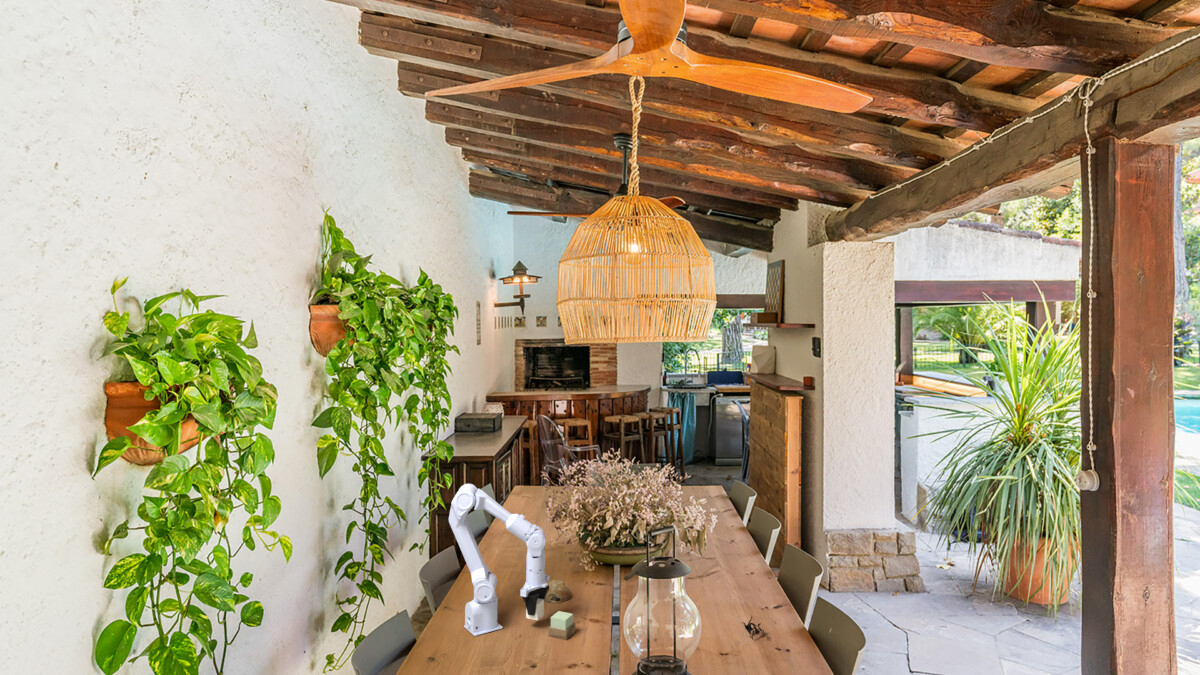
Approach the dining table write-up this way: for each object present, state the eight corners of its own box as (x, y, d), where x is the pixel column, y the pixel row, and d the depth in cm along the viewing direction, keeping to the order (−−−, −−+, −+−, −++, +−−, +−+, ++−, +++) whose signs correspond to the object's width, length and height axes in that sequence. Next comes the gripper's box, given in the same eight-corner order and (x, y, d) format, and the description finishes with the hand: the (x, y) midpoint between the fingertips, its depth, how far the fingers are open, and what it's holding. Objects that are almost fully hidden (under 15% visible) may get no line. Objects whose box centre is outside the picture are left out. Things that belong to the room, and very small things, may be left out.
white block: (537, 620, 202) (537, 604, 202) (526, 618, 203) (526, 601, 203) (543, 615, 205) (544, 599, 205) (532, 613, 207) (532, 597, 207)
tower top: (565, 630, 196) (565, 620, 196) (550, 627, 198) (550, 617, 198) (573, 623, 200) (573, 613, 200) (558, 620, 202) (558, 610, 202)
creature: (773, 640, 199) (749, 626, 204) (777, 623, 198) (753, 611, 203) (761, 649, 193) (737, 635, 198) (765, 632, 192) (741, 619, 197)
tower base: (566, 641, 195) (566, 631, 195) (548, 637, 198) (548, 627, 198) (575, 633, 201) (575, 623, 201) (557, 629, 203) (558, 619, 203)
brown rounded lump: (542, 613, 223) (544, 595, 220) (537, 590, 232) (539, 572, 229) (570, 610, 226) (573, 592, 222) (564, 587, 234) (567, 570, 231)
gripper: (535, 577, 196) (534, 623, 196) (558, 563, 209) (557, 605, 209) (514, 574, 199) (514, 619, 199) (538, 559, 212) (538, 601, 212)
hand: (534, 612), depth 204 cm, fingers closed on white block, 4 cm apart
